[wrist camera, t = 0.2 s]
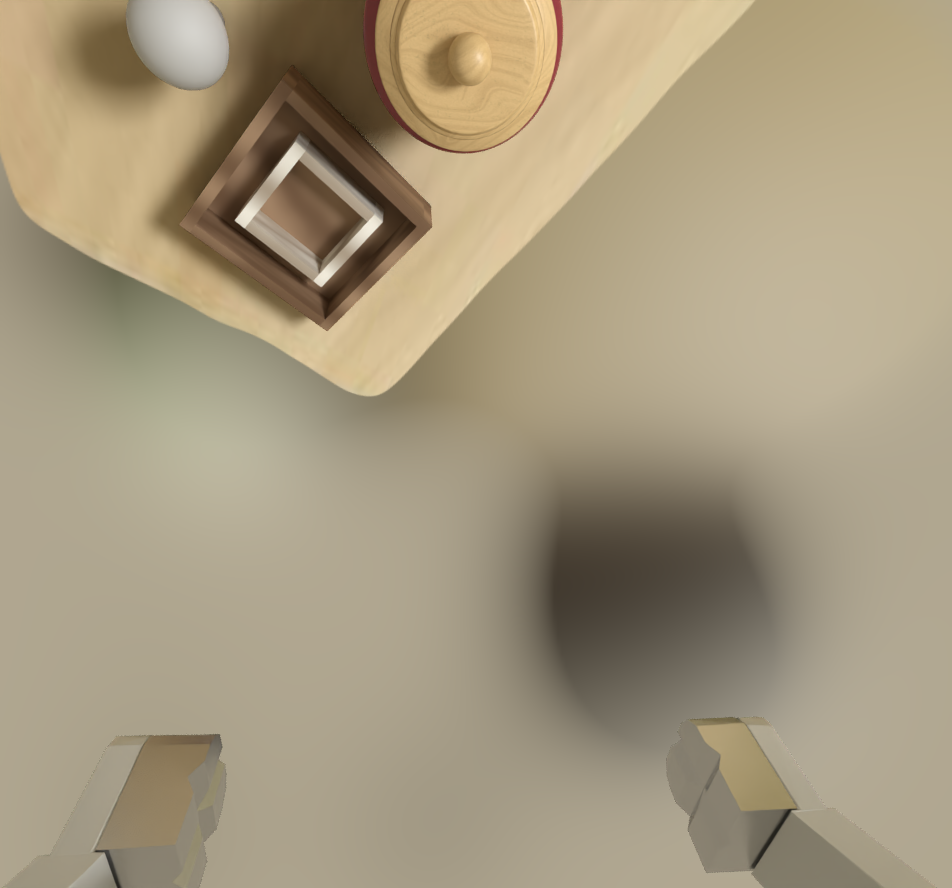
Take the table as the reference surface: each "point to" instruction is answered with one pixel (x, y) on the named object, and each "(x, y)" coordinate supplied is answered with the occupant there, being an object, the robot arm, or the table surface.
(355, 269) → the socket box
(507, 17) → the canister
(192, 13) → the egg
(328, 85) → the table surface
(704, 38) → the table surface
